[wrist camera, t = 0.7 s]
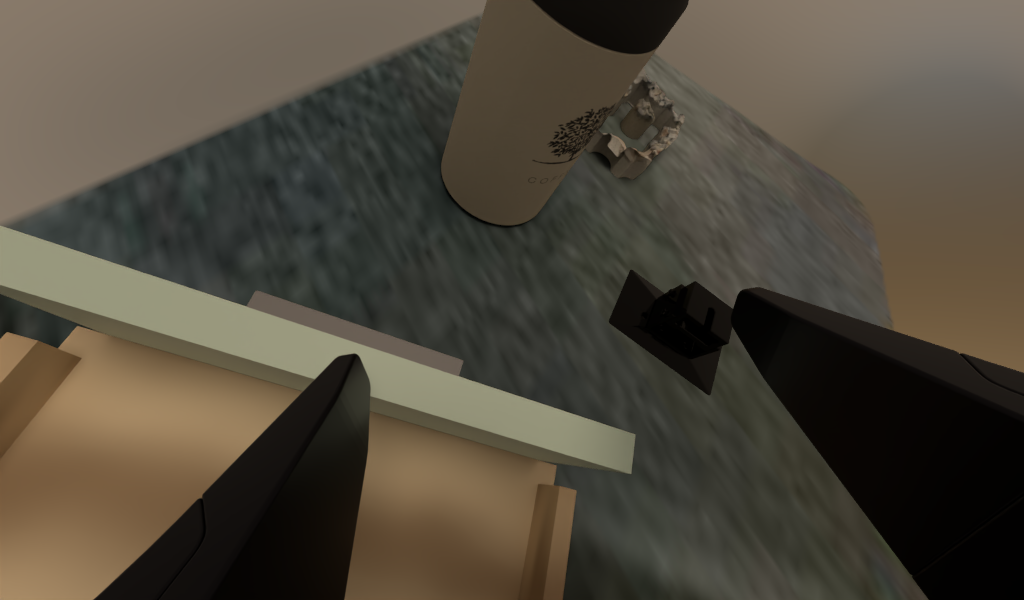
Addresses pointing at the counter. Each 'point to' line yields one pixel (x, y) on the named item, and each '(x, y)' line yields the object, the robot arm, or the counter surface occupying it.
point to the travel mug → (542, 95)
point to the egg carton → (639, 128)
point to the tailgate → (298, 351)
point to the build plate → (675, 326)
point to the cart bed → (213, 448)
